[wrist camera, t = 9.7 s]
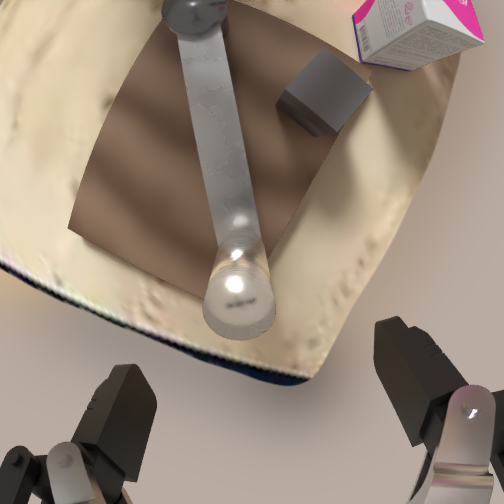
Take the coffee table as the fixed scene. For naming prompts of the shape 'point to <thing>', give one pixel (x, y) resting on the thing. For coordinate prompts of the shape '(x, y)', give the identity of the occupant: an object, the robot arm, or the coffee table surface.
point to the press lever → (223, 173)
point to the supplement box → (414, 31)
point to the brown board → (186, 153)
